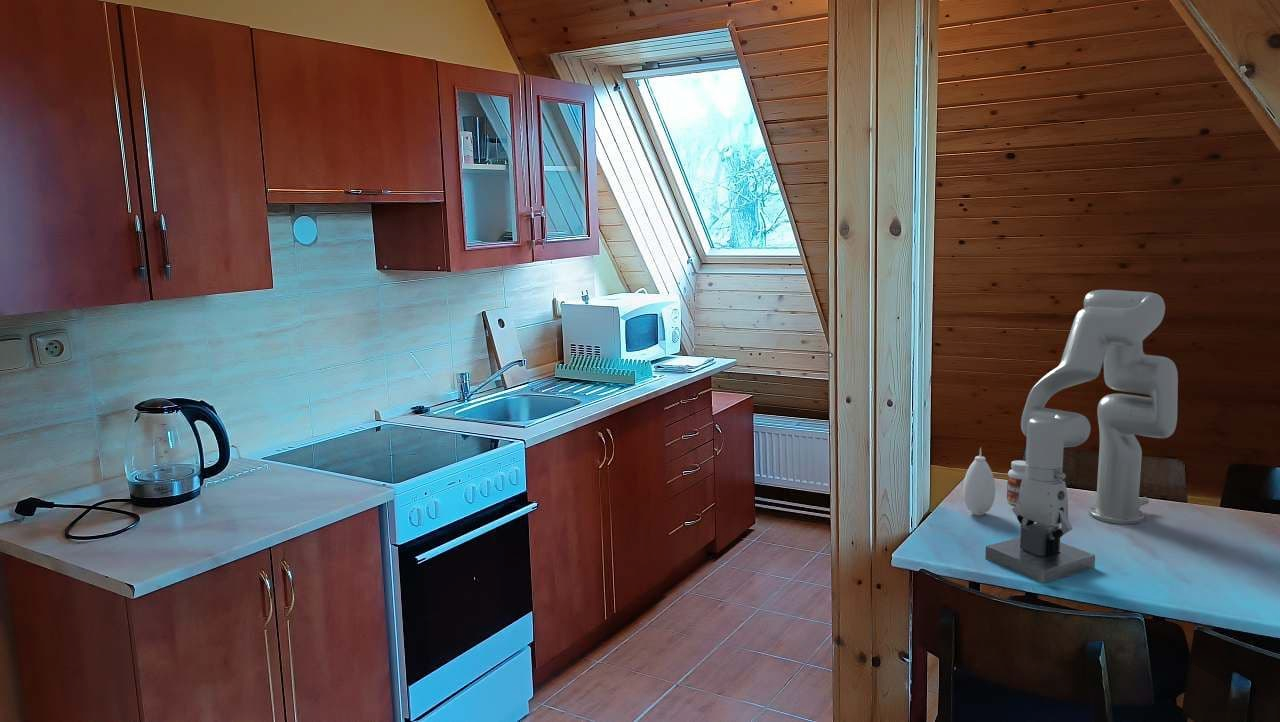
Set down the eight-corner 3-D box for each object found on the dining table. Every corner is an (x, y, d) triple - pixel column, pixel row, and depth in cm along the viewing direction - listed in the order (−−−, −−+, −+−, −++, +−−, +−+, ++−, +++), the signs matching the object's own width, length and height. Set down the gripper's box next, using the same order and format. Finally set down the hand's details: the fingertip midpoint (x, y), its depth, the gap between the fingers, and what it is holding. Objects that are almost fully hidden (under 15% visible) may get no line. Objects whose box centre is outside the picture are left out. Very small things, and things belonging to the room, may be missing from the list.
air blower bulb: (961, 508, 245) (963, 442, 242) (992, 510, 243) (995, 443, 240) (963, 518, 238) (965, 450, 235) (995, 520, 236) (998, 452, 233)
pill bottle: (1003, 503, 248) (1004, 463, 246) (1010, 497, 253) (1012, 458, 251) (1027, 508, 244) (1029, 467, 242) (1034, 501, 249) (1036, 461, 247)
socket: (1034, 545, 219) (1035, 529, 218) (1094, 568, 205) (1095, 551, 204) (985, 558, 212) (985, 542, 211) (1043, 583, 198) (1044, 566, 197)
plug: (1038, 553, 212) (1039, 522, 211) (1059, 561, 207) (1060, 529, 206) (1019, 558, 209) (1020, 527, 208) (1040, 567, 205) (1041, 534, 203)
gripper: (1089, 479, 199) (1084, 559, 202) (1023, 460, 214) (1020, 535, 217) (1065, 485, 196) (1060, 566, 199) (1000, 465, 211) (997, 541, 214)
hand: (1039, 549), depth 208 cm, fingers closed on plug, 5 cm apart
